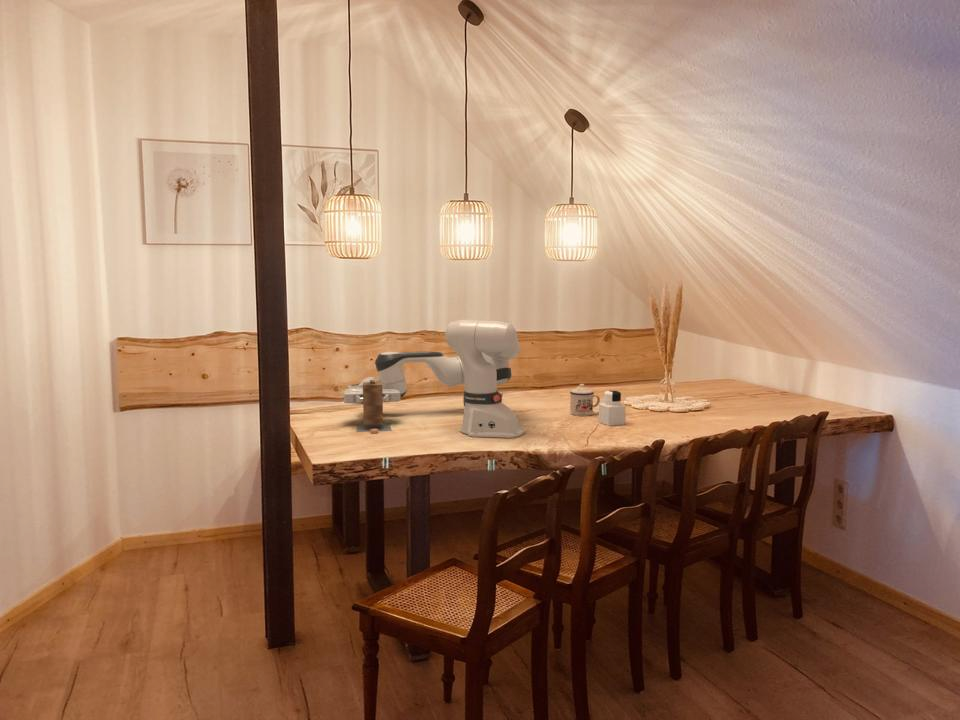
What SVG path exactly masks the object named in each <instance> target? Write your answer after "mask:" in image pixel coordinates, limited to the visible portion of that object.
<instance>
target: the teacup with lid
mask: <svg viewBox="0 0 960 720" xmlns="http://www.w3.org/2000/svg"><path fill="white" fill-rule="evenodd" d="M569 393H570V402H569V403H570V405H569V406H570V415H573V416H577V417H588V416H589V417H590V416H592V415H593V414H594V408H596V407H599V404H600V403H601V399H600V396H599V395H598V394H594V393H595V392H594V390H593V389H590V388H589V387H587V386H585V383H580V384H579V386H576V387H575V388H572V389H570V392H569ZM594 397H595V398H596V399H597V401H596V403H595V404H594Z"/></svg>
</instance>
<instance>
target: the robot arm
mask: <svg viewBox="0 0 960 720" xmlns="http://www.w3.org/2000/svg"><path fill="white" fill-rule="evenodd" d="M444 338H445V340H446V341H445V342H446V344H447V345H448V347H449V348H451V349H452V351H454V352H455V354H456V355H457V356H452V357H451V356H450V357H449V356H446V355H444V354H443V353H442V352H439V351H432V350H431V351H429V350H428V351H427V350H426V351H402V352H400V351H384V352H381V353H379V354H378V355H377V356H376V357H377V358H376V359H375V361H374V363H375V368H376V371H377V376H378V379H377V378H376V377H373V376H367V377H364V378H363V379H362V380H361V381H360V383H359V384H358V383H357V384H351V385H347V388H346V389H344V391H343V404H358V405H359V404H361V405H363V382H370V380H375V382H382V391H383V403H396V402H397V403H398V402H400V401H401V399H402V398H403V397H404V396H405V395H406V394H407V392H408V387H407V381H406V377H405V372H404V367H403V366H404V364H406V363H408V364H409V363H425V364H427V365H428V367H429V368H430V370H431V371H432V373H433V374H434V376H435V377H436V379H437V380H438V381H439V382H440V383H441V384H442V385H444V386H447V387H454V386H455V387H456V386H461V385H464V391H463V396H462V397H463V398H462V399H463V402H462V403H463V407H464V408H463V409H464V410H463V411H464V412H463V417H462V422H461V426H460V432H461V433H463V434H465V435H467V436H469V437H475V438H476V437H478V438H481V437H482V438H507V439H513V438H518V437H520V436H523V434H525V433H526V428H525V427H523V426H519V420H518V416H517V413H516V412H515V411H513V410H512V409H511V408H510V407H508V406H507V405H506V404H505V403H503V402H502V401H503V395H504V393H500V392H499V391H498V390H497V389H498V388H497V387H498V386H500V385H504V384H505V383H507V382H509V381H510V380H511V378H512V368H510V362H509V361H511V360H514V359H515V358H516V357H518V356H519V353H520V350H521V344H520V342H519V340H518V333H517V329H516V328H515V326H514V325H513V324H512V323H509V322H506V321H500V320H487V319H485V320H484V319H456V320H453V321H451V322H450V323H449V324H448V325H447V327H446V329H445V334H444Z"/></svg>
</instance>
